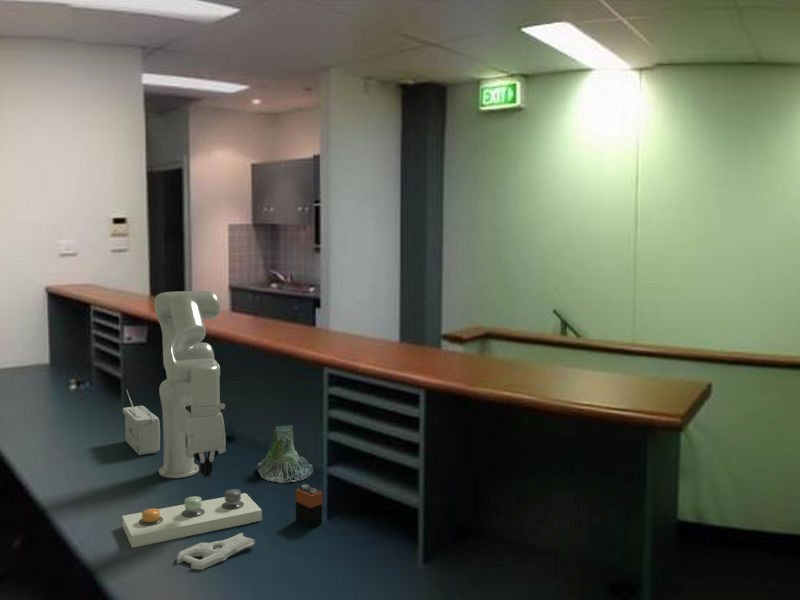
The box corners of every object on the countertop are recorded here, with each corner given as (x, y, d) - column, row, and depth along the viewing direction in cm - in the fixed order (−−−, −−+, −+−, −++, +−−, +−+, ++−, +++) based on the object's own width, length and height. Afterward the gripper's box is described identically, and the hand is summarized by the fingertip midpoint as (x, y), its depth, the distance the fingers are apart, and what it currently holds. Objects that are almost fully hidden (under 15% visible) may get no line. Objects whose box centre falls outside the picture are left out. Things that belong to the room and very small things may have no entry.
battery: (307, 516, 194) (307, 481, 193) (322, 523, 189) (323, 488, 188) (294, 520, 191) (295, 485, 190) (310, 528, 186) (310, 492, 185)
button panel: (122, 526, 185) (122, 515, 185) (245, 502, 202) (245, 492, 202) (132, 547, 173) (131, 535, 173) (261, 520, 190) (261, 509, 190)
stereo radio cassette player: (161, 453, 245) (160, 398, 243) (137, 457, 240) (135, 401, 238) (145, 438, 262) (144, 386, 260) (122, 441, 257) (121, 389, 255)
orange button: (140, 517, 182) (140, 510, 182) (157, 514, 185) (157, 507, 184) (143, 523, 179) (143, 516, 178) (161, 520, 181) (161, 513, 181)
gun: (234, 524, 180) (257, 536, 173) (234, 536, 180) (258, 549, 174) (170, 551, 166) (193, 565, 160) (171, 564, 167) (194, 579, 160)
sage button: (182, 505, 188) (182, 498, 188) (199, 502, 190) (199, 495, 190) (186, 511, 184) (186, 503, 184) (203, 507, 186) (203, 500, 186)
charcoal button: (222, 497, 194) (222, 491, 193) (238, 495, 196) (238, 488, 196) (227, 503, 190) (227, 496, 190) (242, 500, 192) (242, 493, 192)
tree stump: (258, 487, 216) (254, 429, 218) (256, 480, 235) (253, 427, 237) (316, 480, 220) (312, 423, 222) (310, 473, 239) (306, 421, 242)
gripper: (229, 403, 193) (229, 466, 195) (174, 409, 186) (175, 475, 188) (236, 410, 187) (236, 475, 189) (179, 416, 179) (180, 484, 181)
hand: (206, 475), depth 188 cm, fingers closed
